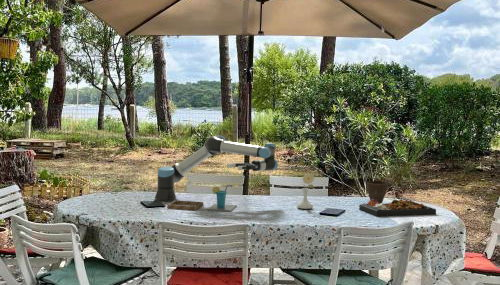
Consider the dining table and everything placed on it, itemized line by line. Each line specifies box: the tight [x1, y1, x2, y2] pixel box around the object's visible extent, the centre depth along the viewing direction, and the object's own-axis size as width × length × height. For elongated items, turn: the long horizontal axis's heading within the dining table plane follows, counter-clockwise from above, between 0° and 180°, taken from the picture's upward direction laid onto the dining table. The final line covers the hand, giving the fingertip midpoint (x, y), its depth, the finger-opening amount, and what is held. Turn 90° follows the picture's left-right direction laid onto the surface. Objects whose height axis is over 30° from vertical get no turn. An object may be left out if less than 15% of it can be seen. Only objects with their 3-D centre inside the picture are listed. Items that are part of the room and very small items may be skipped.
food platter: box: [358, 198, 437, 218], centre depth 427 cm, size 45×25×10 cm, turn 107°
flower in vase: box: [296, 173, 315, 210], centre depth 430 cm, size 13×11×25 cm
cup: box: [212, 184, 233, 208], centre depth 423 cm, size 14×8×15 cm, turn 114°
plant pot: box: [366, 180, 388, 204], centre depth 457 cm, size 15×15×16 cm
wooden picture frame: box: [167, 199, 204, 211], centre depth 426 cm, size 20×18×2 cm
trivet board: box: [206, 203, 238, 213], centre depth 424 cm, size 16×20×1 cm
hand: (232, 166), depth 427 cm, fingers open, 13 cm apart
